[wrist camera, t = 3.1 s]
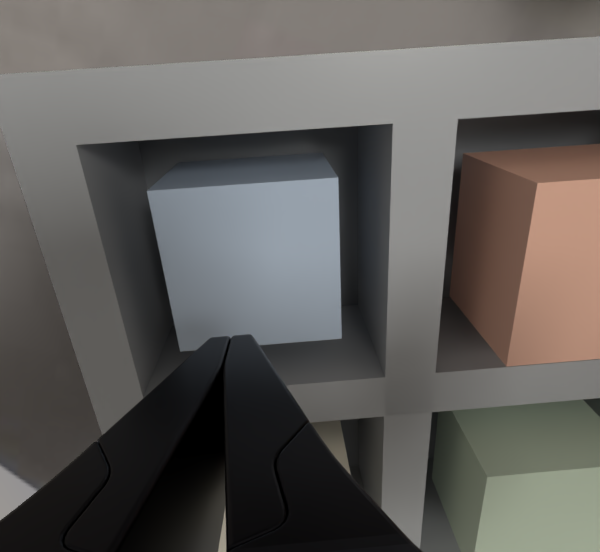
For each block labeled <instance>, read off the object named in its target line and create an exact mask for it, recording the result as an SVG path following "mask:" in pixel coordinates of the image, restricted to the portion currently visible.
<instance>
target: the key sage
mask: <svg viewBox="0 0 600 552" xmlns="http://www.w3.org/2000/svg"><path fill="white" fill-rule="evenodd" d="M432 480H433V483H434V485H435V488H436V490H437V493H438V495H439V498H440V500H441V503H442V505H443V508H444V511H445V513H446V516H447V518H448V521H449V523H450V526H451V528H452V531H453V533H454V536H455V538H456V541H457V543H458V546H459V549H460V551H461V552H600V417H599V416H598V415H597V414H596V413H595V412H594V411H593V409H592V408H591V407H590V406H589V405H588V404H587V403H586V402H585V401H584V400H583V399H582V400H571V401H559V402H547V403H535V404H524V405H512V406H500V407H488V408H477V409H465V410H453V411H442V412H438V419H437V430H436V440H435V450H434V461H433V471H432Z"/></svg>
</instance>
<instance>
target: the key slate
mask: <svg viewBox="0 0 600 552" xmlns="http://www.w3.org/2000/svg"><path fill="white" fill-rule="evenodd" d="M147 194H148V199H149V204H150V209H151V214H152V218H153V223H154V228H155V233H156V238H157V242H158V247H159V252H160V257H161V262H162V266H163V271H164V276H165V281H166V286H167V290H168V295H169V300H170V305H171V310H172V315H173V319H174V324H175V329H176V334H177V339H178V343H179V348H180V352H181V351H194V350H197V349H198V348H199V347H200V346H201V345H203V344H204V343H205V342H206V341H207V340H208V339H209V338H211V337H220V336H229V337H230V338H232V336H234V335H245V334H251V335H252V336H253V337H254V338H255V340H256V341H257V343H258V344H259V345H269V344H281V343H294V342H306V341H318V340H331V339H342V326H341V279H340V232H339V186H338V176H337V175H336V173H335V172H334V170H333V168H332V167H331V165H330V164H329V162H328V161H327V159H326V158H325V156H324V155H323V153H322V152H321V153H306V154H292V155H277V156H263V157H248V158H234V159H219V160H205V161H190V162H179V163H177V164H176V165H175V166H174V167H173V168H172V169H171V170H170V171H169V172H167V173H166V174H165V175H164V176H163V177H162V178H161V179H160V180H159V181H157V182H156V183H155V184H154V185H153V186H152V187H151V188H150V189H148V190H147Z"/></svg>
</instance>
